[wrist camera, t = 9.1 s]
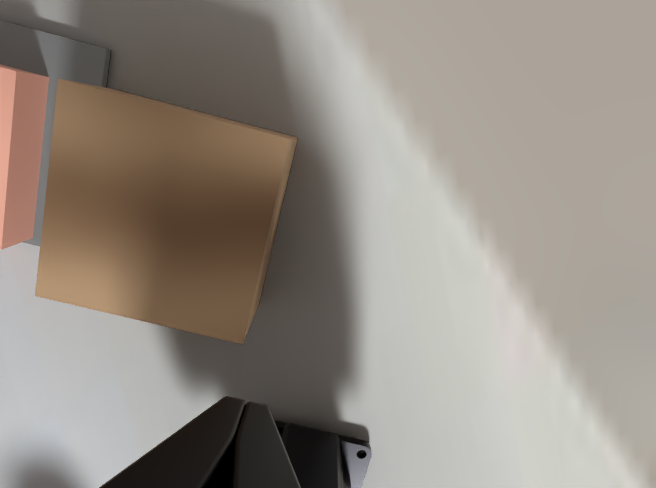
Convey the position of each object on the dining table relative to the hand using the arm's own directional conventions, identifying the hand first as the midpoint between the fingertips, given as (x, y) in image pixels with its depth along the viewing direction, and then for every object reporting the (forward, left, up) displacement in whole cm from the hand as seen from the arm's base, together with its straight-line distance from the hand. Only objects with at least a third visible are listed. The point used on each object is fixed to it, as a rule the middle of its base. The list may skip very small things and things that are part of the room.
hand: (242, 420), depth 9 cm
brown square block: (+1, +5, -12) cm, 14 cm away
